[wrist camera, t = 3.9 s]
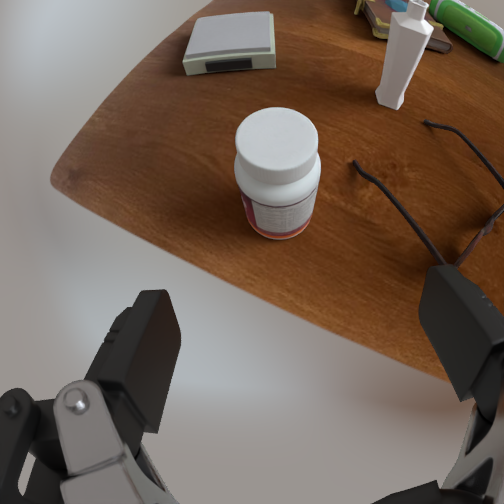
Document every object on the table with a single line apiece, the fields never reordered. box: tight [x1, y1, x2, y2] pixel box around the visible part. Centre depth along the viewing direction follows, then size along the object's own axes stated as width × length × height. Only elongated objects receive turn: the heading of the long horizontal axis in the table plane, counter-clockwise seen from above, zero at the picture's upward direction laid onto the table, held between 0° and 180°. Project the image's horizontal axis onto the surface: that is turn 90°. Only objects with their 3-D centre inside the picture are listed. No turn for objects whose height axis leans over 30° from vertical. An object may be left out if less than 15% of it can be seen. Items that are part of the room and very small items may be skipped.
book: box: [354, 0, 453, 54], centre depth 36 cm, size 16×25×5 cm, turn 179°
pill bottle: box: [234, 108, 321, 240], centre depth 23 cm, size 6×6×11 cm
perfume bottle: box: [375, 0, 434, 110], centre depth 24 cm, size 5×4×15 cm
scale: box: [182, 12, 276, 75], centre depth 35 cm, size 12×12×3 cm
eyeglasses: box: [353, 119, 504, 269], centre depth 25 cm, size 15×15×5 cm
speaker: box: [429, 0, 504, 63], centre depth 32 cm, size 18×7×8 cm, turn 46°
